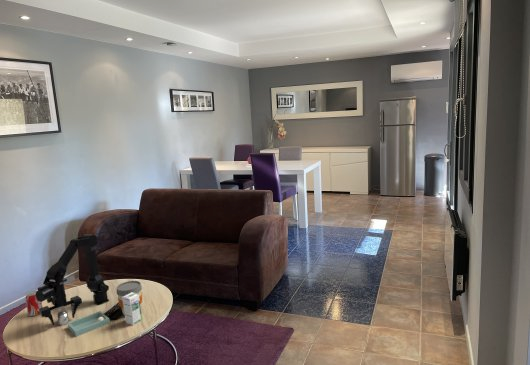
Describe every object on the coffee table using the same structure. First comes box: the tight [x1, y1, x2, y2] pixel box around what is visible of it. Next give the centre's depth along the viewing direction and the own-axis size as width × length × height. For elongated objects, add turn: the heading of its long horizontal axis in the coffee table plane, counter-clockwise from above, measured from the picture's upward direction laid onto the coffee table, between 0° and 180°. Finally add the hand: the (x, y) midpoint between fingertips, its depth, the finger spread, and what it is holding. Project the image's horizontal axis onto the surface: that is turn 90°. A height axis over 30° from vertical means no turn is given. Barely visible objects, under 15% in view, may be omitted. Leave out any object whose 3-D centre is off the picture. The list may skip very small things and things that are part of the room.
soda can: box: [25, 290, 43, 317], centre depth 214 cm, size 7×7×12 cm
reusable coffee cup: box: [116, 280, 143, 316], centre depth 208 cm, size 13×13×15 cm
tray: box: [66, 310, 111, 337], centre depth 197 cm, size 16×12×3 cm
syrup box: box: [122, 292, 143, 326], centre depth 197 cm, size 6×6×14 cm
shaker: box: [56, 309, 70, 327], centre depth 201 cm, size 5×5×7 cm
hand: (63, 321), depth 202 cm, fingers open, 9 cm apart
